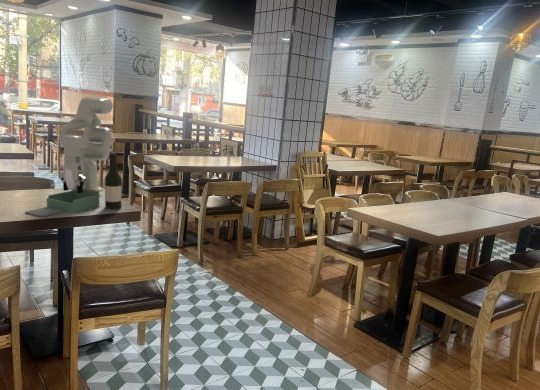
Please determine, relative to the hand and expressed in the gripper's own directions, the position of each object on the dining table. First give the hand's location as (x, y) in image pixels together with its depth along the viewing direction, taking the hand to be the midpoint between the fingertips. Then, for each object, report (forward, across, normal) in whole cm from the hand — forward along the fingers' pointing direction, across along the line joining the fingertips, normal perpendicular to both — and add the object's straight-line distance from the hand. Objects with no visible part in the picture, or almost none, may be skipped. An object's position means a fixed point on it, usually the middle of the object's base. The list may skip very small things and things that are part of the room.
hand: (73, 191), depth 231 cm
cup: (+9, 0, 0) cm, 9 cm away
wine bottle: (+9, -16, -12) cm, 22 cm away
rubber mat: (+9, +2, +16) cm, 18 cm away
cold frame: (+8, 0, 0) cm, 9 cm away
